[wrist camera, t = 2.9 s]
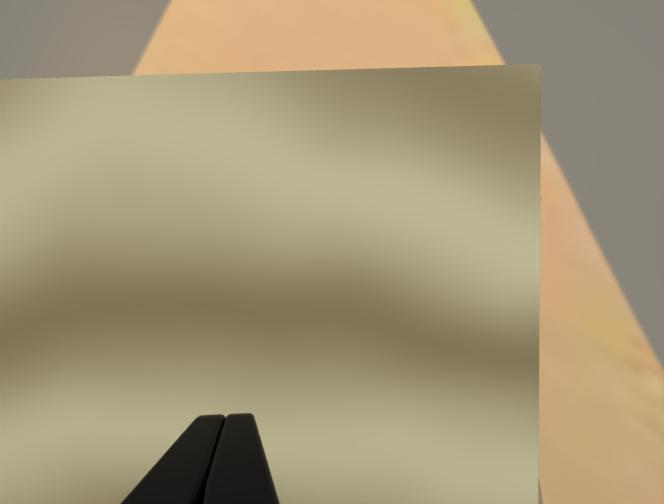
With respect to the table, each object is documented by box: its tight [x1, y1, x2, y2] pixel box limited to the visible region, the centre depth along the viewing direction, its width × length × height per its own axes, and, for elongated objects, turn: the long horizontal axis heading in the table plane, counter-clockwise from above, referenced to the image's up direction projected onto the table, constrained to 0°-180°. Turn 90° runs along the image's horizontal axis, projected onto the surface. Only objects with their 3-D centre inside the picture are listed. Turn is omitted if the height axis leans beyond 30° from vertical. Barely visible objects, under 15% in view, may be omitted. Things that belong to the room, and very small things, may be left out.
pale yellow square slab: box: [0, 64, 541, 504], centre depth 13 cm, size 13×14×2 cm
